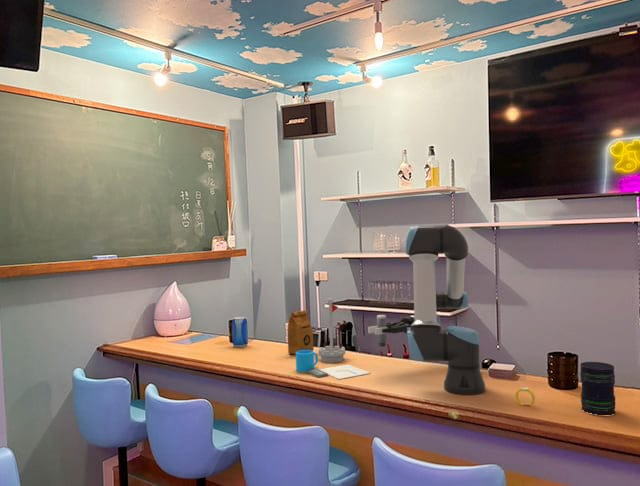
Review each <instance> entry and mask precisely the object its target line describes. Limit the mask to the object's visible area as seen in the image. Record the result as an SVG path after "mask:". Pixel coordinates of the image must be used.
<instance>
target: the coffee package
mask: <svg viewBox="0 0 640 486" xmlns="http://www.w3.org/2000/svg"><path fill="white" fill-rule="evenodd" d="M307 314H308V310H307V309H305V310H299V311H293V312H291V313H290V316H289V319H288V322H287V351H288V355H295V356H296V352H297V351H300V350H311V351H314V350H315V349H314V332H313V327H312V324H311V322H310V320H309V316H308V315H307Z"/></svg>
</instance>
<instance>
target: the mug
mask: <svg viewBox="0 0 640 486" xmlns="http://www.w3.org/2000/svg"><path fill="white" fill-rule="evenodd" d="M318 361H319V356H318V354H317V353H316V352H315V351H314V350H313V351H311V350H300V351H297V352H296V355H295V371H296V372H298V373H307V370H312V369H315V366H316V365H317V363H318Z"/></svg>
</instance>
